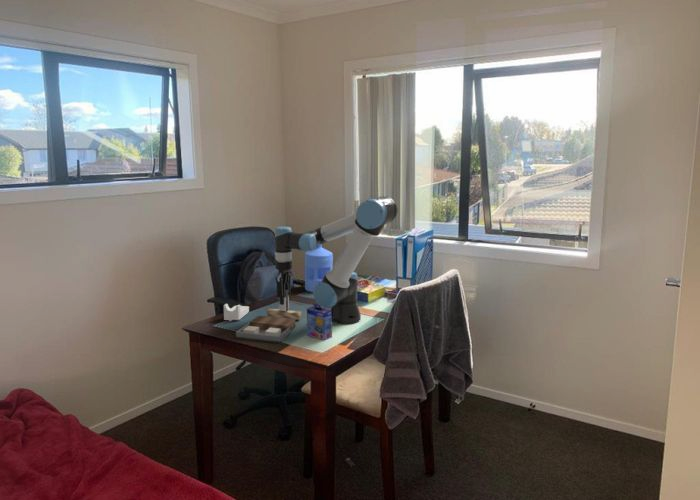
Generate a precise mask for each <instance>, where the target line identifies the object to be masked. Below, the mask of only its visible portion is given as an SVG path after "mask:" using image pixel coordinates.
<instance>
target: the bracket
mask: <svg viewBox="0 0 700 500" xmlns="http://www.w3.org/2000/svg"><path fill="white" fill-rule="evenodd" d="M249 312H250V306H247V305H244V306H243V305H241V304H238V305H234V306H232V307H230V306H229V304H228V303H225V304H224V305H223V321H224V320H229V321H228V322H232V321H240V320H241V319H242V318H243V317H244V316H246V315H247V314H248V313H249Z"/></svg>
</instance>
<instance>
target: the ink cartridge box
mask: <svg viewBox="0 0 700 500" xmlns="http://www.w3.org/2000/svg"><path fill="white" fill-rule="evenodd" d="M332 324H333V322H332V310H330V308H325V307H322V306H320V305H319V304H314V303H313V306H311V307H307V308H306V334H307V335H306V336H308V337H311V338H315V339H320V340H322V341H325V340H328V339H330V338H332V337H333V328H332V326H333V325H332Z"/></svg>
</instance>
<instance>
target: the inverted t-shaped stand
mask: <svg viewBox="0 0 700 500" xmlns="http://www.w3.org/2000/svg"><path fill="white" fill-rule="evenodd" d="M285 297H286V311H280V308H268V309H267V310H266V316H267V317H277V318H286V319H295V320H300V319H301V318H302V311H299V310H290V309H288V290H286V289H285Z"/></svg>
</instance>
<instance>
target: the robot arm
mask: <svg viewBox="0 0 700 500" xmlns="http://www.w3.org/2000/svg"><path fill="white" fill-rule="evenodd" d="M398 210H399V209H398V205H397V203H396V201H395V200H394V199H393V198H391V197H388V196H379V197H375V198H374V197H373V198H371V197H370V198H368V199H366V200H364V201H361V203H360V204H359V205H358V206H357V209H356V211H355V213H352V214H350V215H347V216H345V217H342V218H340V219H337V220H335V221H332V222H330V223H328V224H325V225H323V226H320V227H318V228H316V229H312V230H309V231H308V230H307V231H305V232H294V231H292V227H291V226H278V227H276V228H275V229H274V244H275V245H274V246H275V247H274V250H275V252H274V255H275V259H274V260H275V270H278V274H277V276H276V277H275V282H276V297H277V298H279V309H280V311H286V297H285V289H286V290H288V310H290V309H289V308H290V301H289V300H290V299H289V296H290V295H291V289H292V283H291V282H292V271H290V270H292V268H293V261H292V260H293V250H297V251H304V252H308V251H312V250H314V248H316V246H318V245H324V244H325V243H327V242H330V241H333V240H336V239H339V238H341V237H343V236H346V235H350V236H349V238H348V240H346V243H345V245H344V247H343V248H342V250H341V252H340V254H339V255H338V258H337V260H336V262H335V263H334V265H333V268H332V270H330V271H327V272H326V274H325V276H324V277H323V279H322V281H321V282H319V283H317V284H316V285H315V287H314V289H313V292H312V295H313V298H314V300H315V302H316V303H317V305H320V306H321V308H325V309H330V310H332V323H334V324H339V325H349V324H356V323H358V322H360V321H361V319H362V318H361V317H362V316H361V312H360V308H359V305H358V280H359V279H358V274H357V272H355V270H356V268H357V266H358V264H359V263H360V261H361V260H362V257H363V256H364V254H365V252H366V250H367V249H368V247H369V245H370V244H371V241H372V240H373V238H374V237H378V236H379V235H380V234H381V232H382V230H383V228H384V227H385V225H387V224H390V223H391V222H393V221H394V220H395V219H396V218H397V215H398V212H399V211H398ZM359 320H360V321H359Z"/></svg>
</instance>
